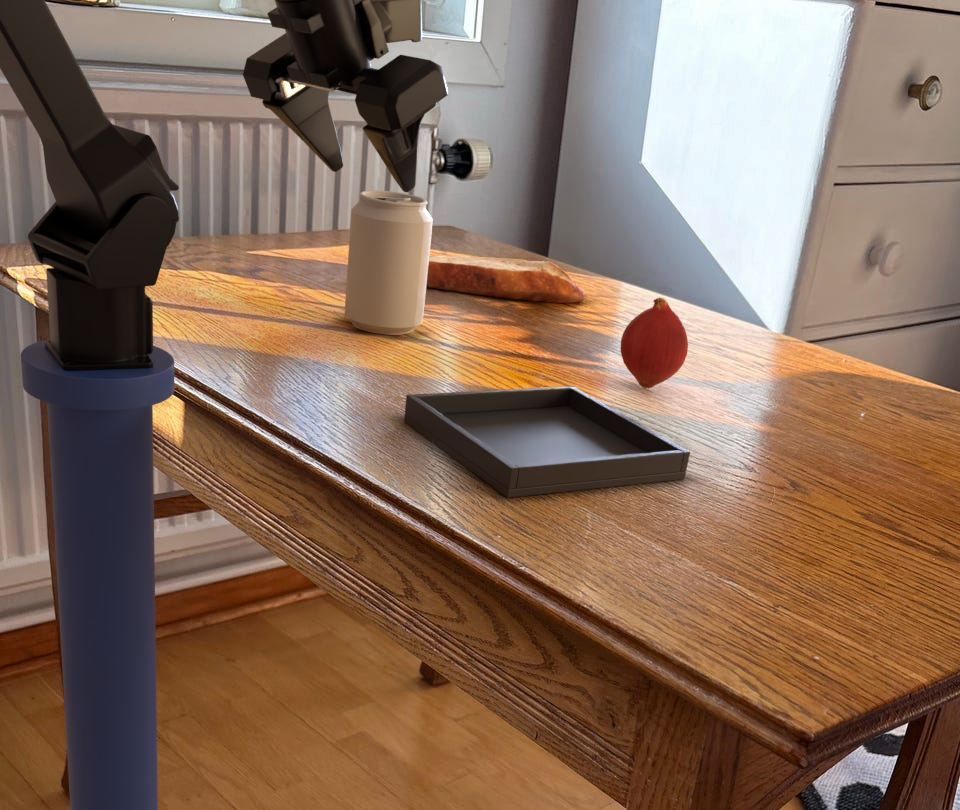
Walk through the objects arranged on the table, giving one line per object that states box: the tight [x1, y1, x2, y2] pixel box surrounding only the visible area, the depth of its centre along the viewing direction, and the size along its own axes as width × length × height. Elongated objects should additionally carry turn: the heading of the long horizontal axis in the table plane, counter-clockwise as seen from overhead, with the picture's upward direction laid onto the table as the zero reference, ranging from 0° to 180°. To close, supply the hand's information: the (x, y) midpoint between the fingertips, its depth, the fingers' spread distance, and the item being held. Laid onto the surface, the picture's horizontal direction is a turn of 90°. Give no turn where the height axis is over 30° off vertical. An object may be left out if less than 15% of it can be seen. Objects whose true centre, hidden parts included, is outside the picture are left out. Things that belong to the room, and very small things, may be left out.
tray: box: [403, 385, 691, 499], centre depth 86 cm, size 15×15×2 cm
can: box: [344, 189, 434, 336], centre depth 109 cm, size 8×8×12 cm
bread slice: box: [426, 255, 586, 304], centre depth 131 cm, size 18×18×4 cm
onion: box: [620, 296, 689, 390], centre depth 103 cm, size 6×6×8 cm
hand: (373, 179), depth 98 cm, fingers open, 9 cm apart
